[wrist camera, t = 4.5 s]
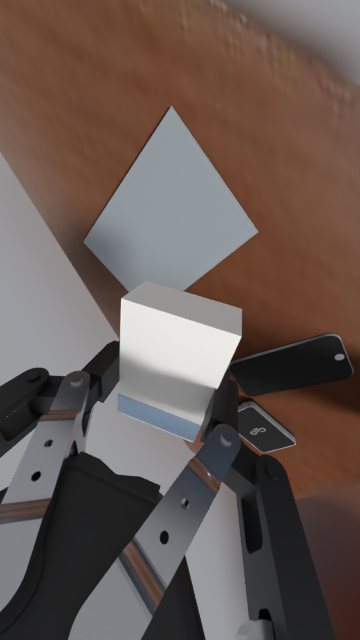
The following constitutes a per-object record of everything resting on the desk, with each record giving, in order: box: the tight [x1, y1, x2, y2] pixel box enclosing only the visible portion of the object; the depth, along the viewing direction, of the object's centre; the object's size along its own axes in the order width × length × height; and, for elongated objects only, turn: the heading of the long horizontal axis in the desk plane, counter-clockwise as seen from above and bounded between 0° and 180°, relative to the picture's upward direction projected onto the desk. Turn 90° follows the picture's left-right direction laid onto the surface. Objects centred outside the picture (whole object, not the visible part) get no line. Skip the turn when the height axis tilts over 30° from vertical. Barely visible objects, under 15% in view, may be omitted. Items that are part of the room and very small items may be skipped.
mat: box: [83, 106, 258, 292], centre depth 24 cm, size 14×18×1 cm
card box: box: [118, 281, 242, 443], centre depth 12 cm, size 10×6×3 cm, turn 169°
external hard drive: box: [238, 399, 296, 453], centre depth 34 cm, size 7×11×2 cm, turn 51°
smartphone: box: [228, 333, 354, 396], centre depth 28 cm, size 8×1×15 cm
